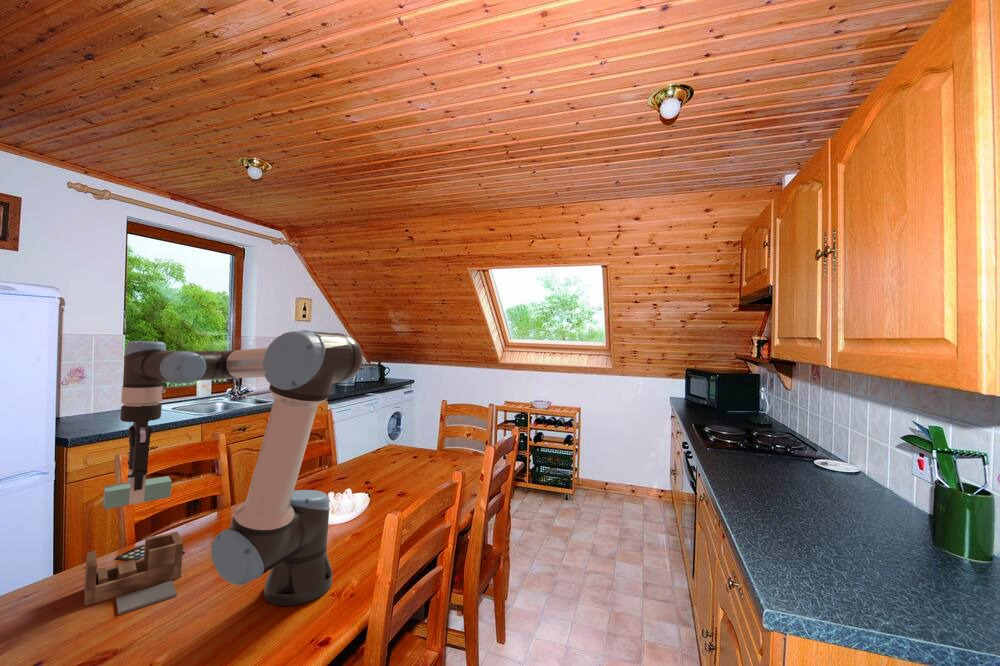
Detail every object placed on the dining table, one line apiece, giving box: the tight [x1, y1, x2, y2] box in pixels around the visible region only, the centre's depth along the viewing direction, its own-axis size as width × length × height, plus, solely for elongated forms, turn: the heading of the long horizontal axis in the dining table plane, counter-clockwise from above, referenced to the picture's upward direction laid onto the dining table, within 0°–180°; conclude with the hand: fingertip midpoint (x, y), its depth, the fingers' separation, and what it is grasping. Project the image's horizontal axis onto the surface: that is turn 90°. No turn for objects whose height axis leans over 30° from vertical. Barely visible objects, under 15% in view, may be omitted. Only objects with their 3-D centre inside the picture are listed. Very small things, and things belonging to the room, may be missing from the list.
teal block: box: [102, 475, 173, 510], centre depth 100 cm, size 12×5×4 cm, turn 136°
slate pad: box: [115, 580, 178, 616], centre depth 94 cm, size 7×10×1 cm
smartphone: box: [115, 544, 186, 562], centre depth 112 cm, size 7×1×15 cm
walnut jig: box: [83, 531, 184, 607], centre depth 99 cm, size 17×8×8 cm, turn 136°
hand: (135, 499), depth 99 cm, fingers closed on teal block, 5 cm apart
